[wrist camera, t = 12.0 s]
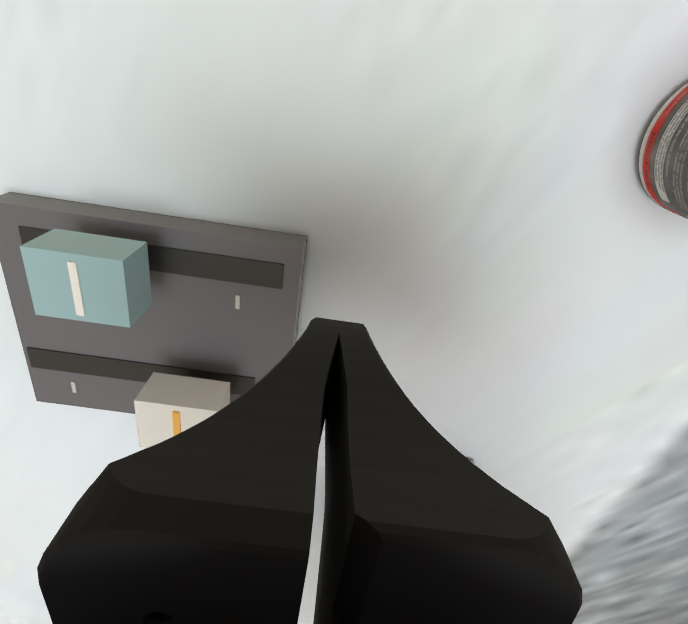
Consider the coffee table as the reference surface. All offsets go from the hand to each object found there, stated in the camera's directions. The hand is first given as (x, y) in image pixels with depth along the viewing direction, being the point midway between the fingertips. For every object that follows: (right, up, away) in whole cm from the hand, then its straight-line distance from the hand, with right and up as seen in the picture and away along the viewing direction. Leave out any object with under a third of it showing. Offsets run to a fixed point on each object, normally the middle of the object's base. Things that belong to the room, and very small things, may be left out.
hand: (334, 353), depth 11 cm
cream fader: (-7, -3, +11) cm, 13 cm away
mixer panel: (-9, +1, +11) cm, 14 cm away
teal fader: (-10, +4, +8) cm, 13 cm away
